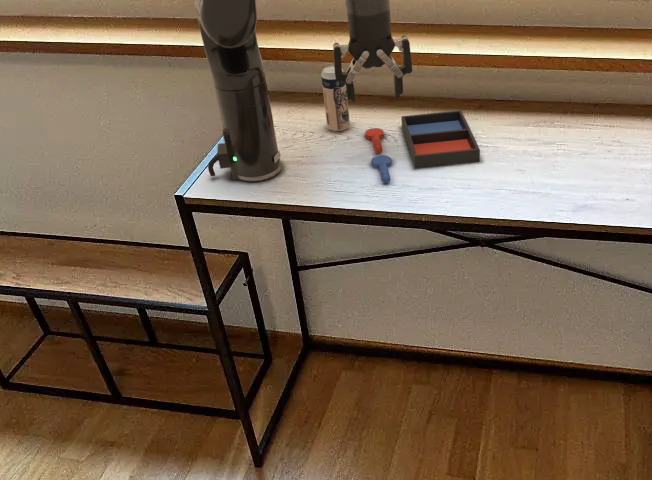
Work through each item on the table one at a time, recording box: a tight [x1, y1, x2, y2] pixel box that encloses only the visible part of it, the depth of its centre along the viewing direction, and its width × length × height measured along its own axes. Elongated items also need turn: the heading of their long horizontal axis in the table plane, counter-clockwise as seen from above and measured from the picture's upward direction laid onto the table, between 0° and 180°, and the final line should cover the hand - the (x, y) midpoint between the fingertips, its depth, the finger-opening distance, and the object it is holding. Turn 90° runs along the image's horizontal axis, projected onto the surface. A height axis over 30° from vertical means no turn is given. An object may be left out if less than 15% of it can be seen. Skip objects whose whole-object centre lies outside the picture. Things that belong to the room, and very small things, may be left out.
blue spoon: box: [371, 154, 392, 184], centre depth 134 cm, size 10×4×2 cm, turn 8°
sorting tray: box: [400, 109, 481, 169], centre depth 140 cm, size 13×18×2 cm
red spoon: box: [364, 127, 385, 154], centre depth 142 cm, size 10×4×2 cm, turn 8°
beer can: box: [320, 65, 351, 132], centre depth 144 cm, size 5×5×12 cm
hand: (375, 98), depth 134 cm, fingers open, 8 cm apart
